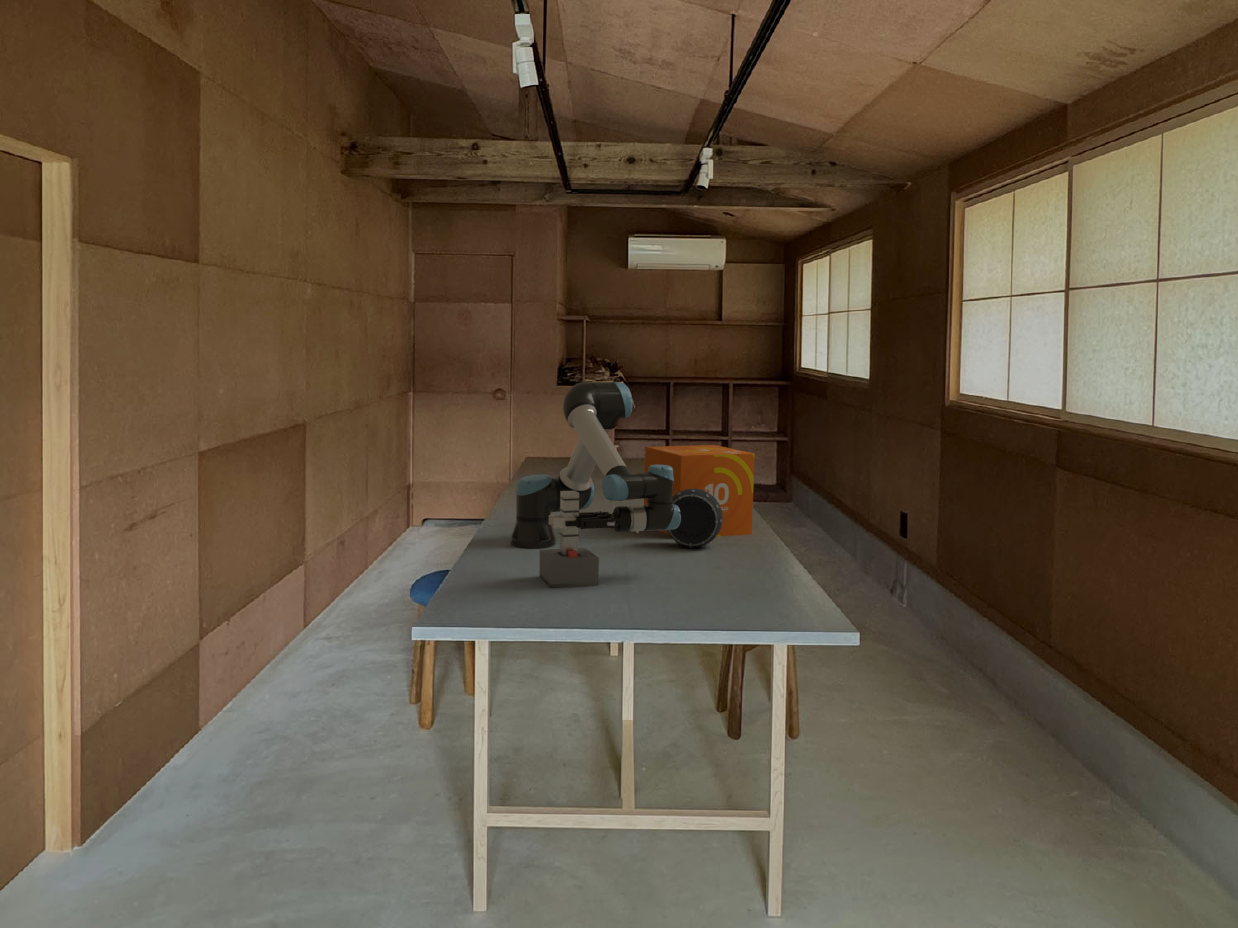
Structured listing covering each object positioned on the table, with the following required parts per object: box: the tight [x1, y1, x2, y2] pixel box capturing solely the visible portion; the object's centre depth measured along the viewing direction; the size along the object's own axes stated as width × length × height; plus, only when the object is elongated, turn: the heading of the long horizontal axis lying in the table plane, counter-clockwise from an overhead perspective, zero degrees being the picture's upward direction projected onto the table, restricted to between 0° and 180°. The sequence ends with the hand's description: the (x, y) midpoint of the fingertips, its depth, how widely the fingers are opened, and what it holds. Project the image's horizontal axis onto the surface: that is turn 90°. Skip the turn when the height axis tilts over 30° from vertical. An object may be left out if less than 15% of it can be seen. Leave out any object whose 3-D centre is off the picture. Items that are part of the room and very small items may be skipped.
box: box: [643, 444, 756, 538], centre depth 363 cm, size 30×30×30 cm
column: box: [558, 491, 580, 556], centre depth 280 cm, size 5×5×23 cm
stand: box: [538, 547, 600, 589], centre depth 281 cm, size 14×14×10 cm
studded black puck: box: [666, 489, 723, 549], centre depth 332 cm, size 11×20×20 cm, turn 78°
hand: (551, 521), depth 278 cm, fingers closed on column, 5 cm apart
